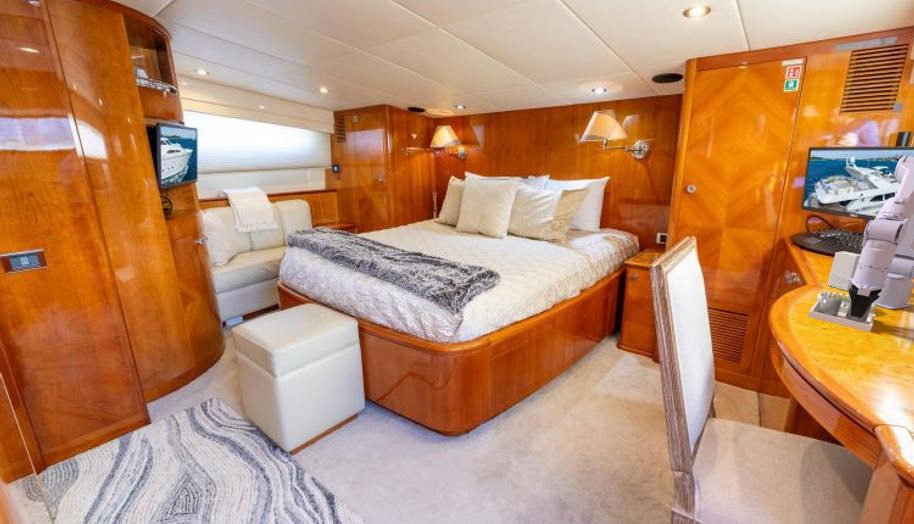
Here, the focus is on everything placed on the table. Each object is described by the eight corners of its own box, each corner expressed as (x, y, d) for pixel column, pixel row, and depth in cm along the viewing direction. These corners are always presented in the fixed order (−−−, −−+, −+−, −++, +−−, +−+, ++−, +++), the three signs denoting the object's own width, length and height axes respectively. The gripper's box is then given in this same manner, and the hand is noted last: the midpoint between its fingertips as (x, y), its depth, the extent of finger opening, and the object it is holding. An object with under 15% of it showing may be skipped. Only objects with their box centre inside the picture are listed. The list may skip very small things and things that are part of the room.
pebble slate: (823, 311, 110) (828, 296, 108) (840, 316, 106) (845, 301, 105) (813, 312, 109) (818, 297, 107) (830, 318, 105) (835, 303, 104)
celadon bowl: (819, 296, 122) (821, 288, 122) (875, 308, 113) (878, 300, 113) (812, 306, 115) (814, 297, 114) (872, 319, 106) (875, 311, 105)
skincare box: (855, 290, 128) (867, 255, 125) (846, 291, 127) (858, 256, 123) (834, 284, 134) (844, 250, 130) (825, 285, 132) (835, 251, 129)
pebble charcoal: (851, 314, 105) (856, 299, 104) (870, 320, 102) (875, 304, 100) (841, 315, 104) (846, 300, 103) (860, 322, 101) (865, 306, 99)
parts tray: (814, 307, 113) (816, 300, 113) (873, 321, 105) (875, 314, 104) (807, 318, 106) (809, 311, 106) (869, 334, 98) (872, 326, 97)
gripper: (855, 257, 106) (840, 303, 110) (848, 267, 97) (832, 316, 101) (892, 263, 101) (875, 310, 105) (889, 274, 92) (871, 326, 96)
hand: (857, 314), depth 103 cm, fingers closed on pebble charcoal, 4 cm apart
